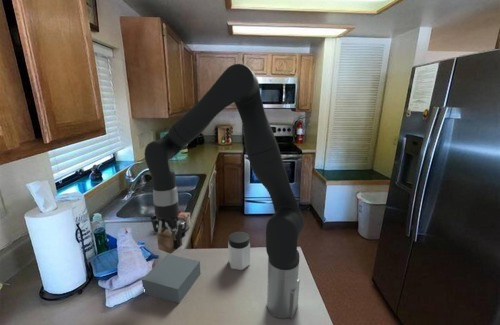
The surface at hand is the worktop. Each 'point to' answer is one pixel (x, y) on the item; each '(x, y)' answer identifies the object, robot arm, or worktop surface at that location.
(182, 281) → the slate block
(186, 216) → the food item
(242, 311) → the worktop surface
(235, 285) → the worktop surface
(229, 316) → the worktop surface
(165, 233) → the walnut cube
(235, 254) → the jar
